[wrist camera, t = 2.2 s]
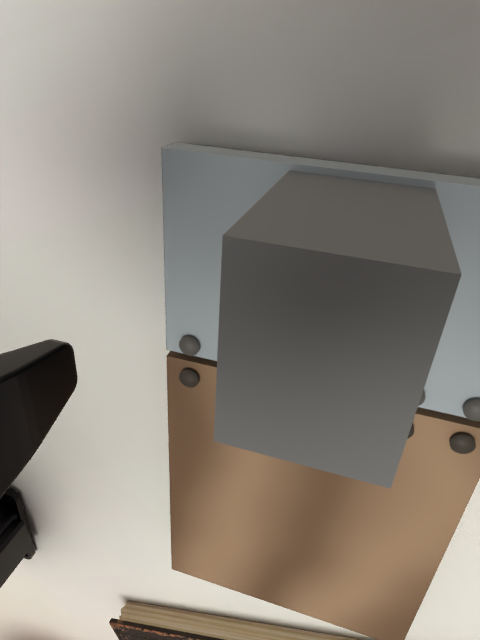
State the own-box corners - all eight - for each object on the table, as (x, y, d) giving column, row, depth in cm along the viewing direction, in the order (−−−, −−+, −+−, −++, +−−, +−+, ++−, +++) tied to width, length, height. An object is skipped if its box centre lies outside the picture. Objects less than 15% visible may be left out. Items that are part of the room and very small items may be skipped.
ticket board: (182, 544, 26) (170, 572, 25) (181, 337, 19) (164, 358, 18) (400, 616, 23) (400, 651, 22) (492, 405, 16) (501, 437, 15)
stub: (178, 335, 19) (74, 462, 13) (176, 142, 15) (28, 194, 9) (497, 405, 16) (557, 608, 10) (592, 191, 12) (777, 311, 6)
